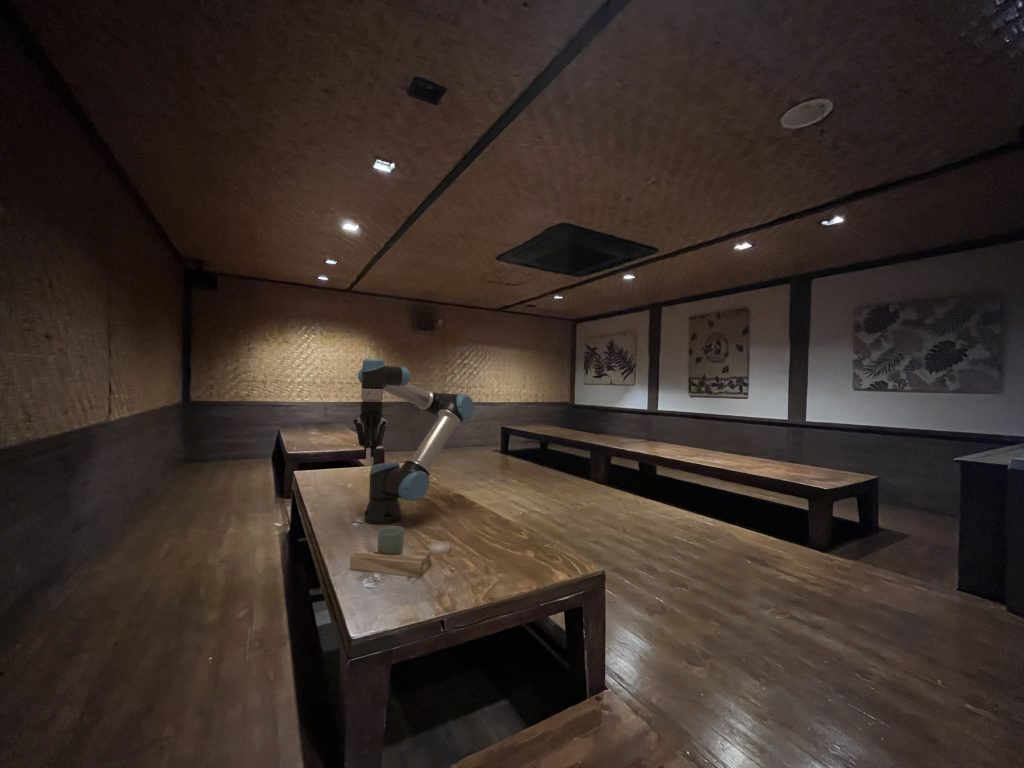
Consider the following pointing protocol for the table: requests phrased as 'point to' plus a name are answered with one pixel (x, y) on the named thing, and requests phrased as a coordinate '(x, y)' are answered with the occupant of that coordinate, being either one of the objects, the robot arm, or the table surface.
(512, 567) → the table surface
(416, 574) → the wooden block
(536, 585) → the table surface
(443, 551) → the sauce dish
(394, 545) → the cup
